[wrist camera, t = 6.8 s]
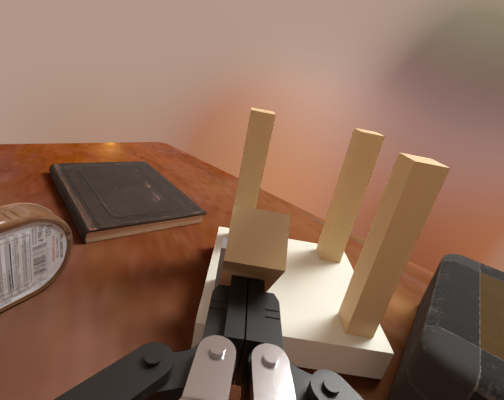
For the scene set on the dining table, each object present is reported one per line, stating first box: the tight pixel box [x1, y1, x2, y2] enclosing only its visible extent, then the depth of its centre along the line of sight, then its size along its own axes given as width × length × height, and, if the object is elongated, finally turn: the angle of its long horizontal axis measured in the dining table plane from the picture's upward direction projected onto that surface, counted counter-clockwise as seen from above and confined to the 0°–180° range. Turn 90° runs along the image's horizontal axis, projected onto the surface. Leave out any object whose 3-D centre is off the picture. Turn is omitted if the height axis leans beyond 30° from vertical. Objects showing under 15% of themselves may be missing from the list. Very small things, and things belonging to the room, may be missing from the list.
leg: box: [220, 205, 290, 292], centre depth 19 cm, size 2×2×15 cm
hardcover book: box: [49, 161, 207, 244], centre depth 47 cm, size 16×23×2 cm
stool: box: [191, 108, 450, 379], centre depth 28 cm, size 16×18×18 cm
